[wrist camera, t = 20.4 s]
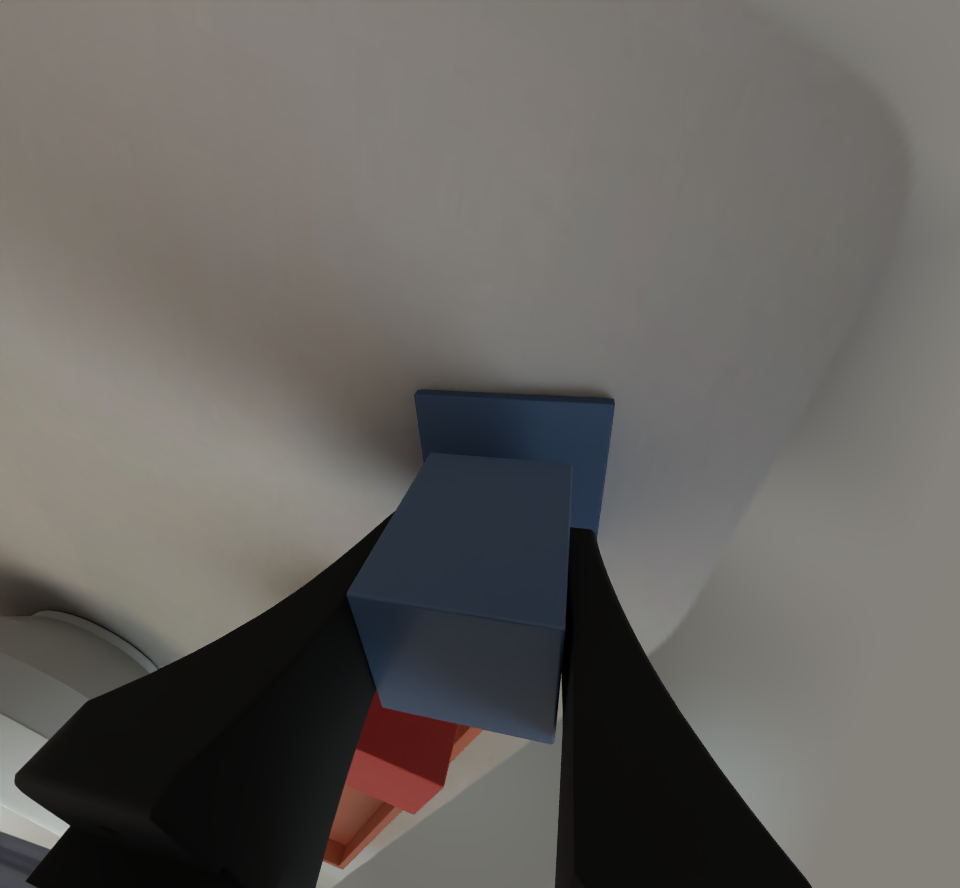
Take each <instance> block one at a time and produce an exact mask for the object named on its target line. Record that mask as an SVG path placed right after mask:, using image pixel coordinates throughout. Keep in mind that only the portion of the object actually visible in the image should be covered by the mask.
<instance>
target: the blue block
mask: <svg viewBox="0 0 960 888" xmlns="http://www.w3.org/2000/svg"><path fill="white" fill-rule="evenodd" d="M572 470H573V466H572V464H569V463H556V462H543V461H531V460H518V459H505V458H493V457H480V456H467V455H454V454H442V453H430V454H429V456H428V457H427V459H426V461H425V462H424V464H423V466H422V467H421V469H420V471H419V472H418V474H417V476H416V478H415V479H414V481H413V483H412V484H411V486H410V488H409V489H408V491H407V493H406V494H405V496H404V498H403V499H402V501H401V503H400V504H399V506H398V508H397V509H396V511H395V513H394V514H393V516H392V518H391V519H390V521H389V523H388V525H387V526H386V528H385V530H384V531H383V533H382V535H381V536H380V538H379V540H378V541H377V543H376V545H375V546H374V548H373V550H372V551H371V553H370V555H369V556H368V558H367V560H366V561H365V563H364V565H363V566H362V568H361V570H360V571H359V573H358V575H357V577H356V578H355V580H354V582H353V583H352V585H351V587H350V588H349V590H348V592H347V599H348V602H349V605H350V608H351V611H352V614H353V617H354V621H355V624H356V627H357V630H358V633H359V636H360V639H361V643H362V646H363V649H364V652H365V655H366V658H367V661H368V664H369V668H370V671H371V674H372V677H373V680H374V683H375V686H376V690H377V693H378V696H379V699H380V702H381V705H382V707H383V708H388V709H392V710H397V711H401V712H406V713H410V714H415V715H419V716H424V717H429V718H433V719H438V720H442V721H447V722H451V723H456V724H461V725H465V726H470V727H474V728H479V729H483V730H488V731H492V732H497V733H502V734H506V735H511V736H515V737H520V738H524V739H529V740H534V741H538V742H543V743H548V744H553V743H554V742H555V732H556V722H557V712H558V701H559V691H560V681H561V671H562V660H563V650H564V640H565V630H566V608H567V585H568V562H569V539H570V516H571V493H572Z"/></svg>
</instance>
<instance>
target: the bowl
mask: <svg viewBox="0 0 960 888" xmlns="http://www.w3.org/2000/svg"><path fill="white" fill-rule="evenodd" d="M156 670H158V669H157V668H156V666H155V665H154V664H153V663H152V662H151V661H150V660H149V659H148V658H146V657H145V656H144V655H143V654H142V653H141V652H140V651H138V650H137V649H136V648H134V647H133V646H132V645H130V644H129V643H127V642H126V641H124V640H123V639H121V638H120V637H118V636H117V635H115V634H113V633H111V632H110V631H108V630H106V629H104V628H102V627H100V626H98V625H96V624H94V623H92V622H90V621H88V620H85V619H82V618H79V617H77V616H74V615H70V614H67V613H63V612H57V611H49V610H48V611H39V612H37V613H35V614H33V615H31V616H0V831H1V832H4V833H7V834H9V835H12V836H15V837H18V838H20V839H23V840H26V841H29V842H32V843H34V844H37V845H40V846H43V847H45V848H48V849H52V848H53V846H54V845H55V844H56V843H57V841H58V840H59V839H60V838H61V837H62V835H63V834H64V833H65V832H66V830H67V829H68V828H69V827H70V825H68V824H67V823H65V822H64V821H63V820H61V819H60V818H58V817H57V816H55V815H54V814H52V813H51V812H49V811H48V810H46V809H45V808H43V807H42V806H41V805H39V804H38V803H36V802H35V801H33V800H32V799H30V798H29V797H28V796H26V795H25V794H24V793H22V792H21V791H20V790H19V789H18V788H17V787H16V786H15V782H14V780H15V774H16V773H17V772H18V771H19V770H20V769H21V768H22V767H23V766H24V765H25V764H26V763H27V762H28V761H29V760H30V759H31V758H32V757H33V756H34V755H35V754H36V753H37V752H38V751H39V750H40V748H41V747H42V746H43V745H44V744H45V743H46V742H47V741H48V740H49V739H50V738H51V737H52V736H53V735H54V734H55V733H56V732H57V731H58V730H59V729H60V728H61V727H62V726H63V725H64V724H65V723H66V722H67V721H68V720H69V719H70V718H71V717H72V716H73V715H74V714H75V713H76V712H77V711H78V710H79V709H80V708H81V707H82V706H83V705H84V704H85V703H86V702H87V701H88V700H91V699H93V698H95V697H98V696H100V695H103V694H105V693H107V692H109V691H112V690H114V689H116V688H118V687H121V686H123V685H125V684H127V683H130V682H132V681H134V680H136V679H139V678H141V677H143V676H146V675H148V674H150V673H152V672H154V671H156Z"/></svg>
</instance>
